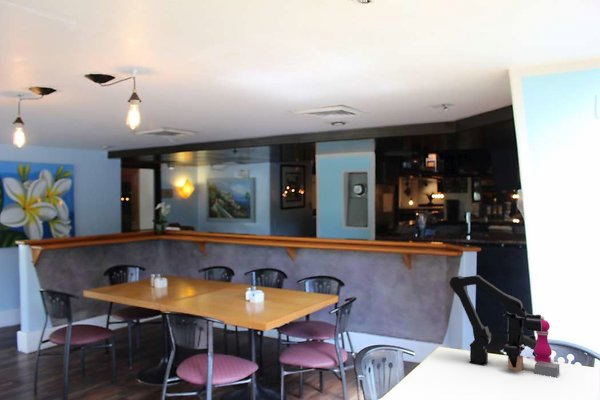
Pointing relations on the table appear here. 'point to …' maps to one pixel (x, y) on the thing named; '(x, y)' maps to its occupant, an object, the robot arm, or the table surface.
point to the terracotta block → (518, 366)
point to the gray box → (547, 369)
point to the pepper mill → (543, 343)
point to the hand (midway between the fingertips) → (515, 365)
